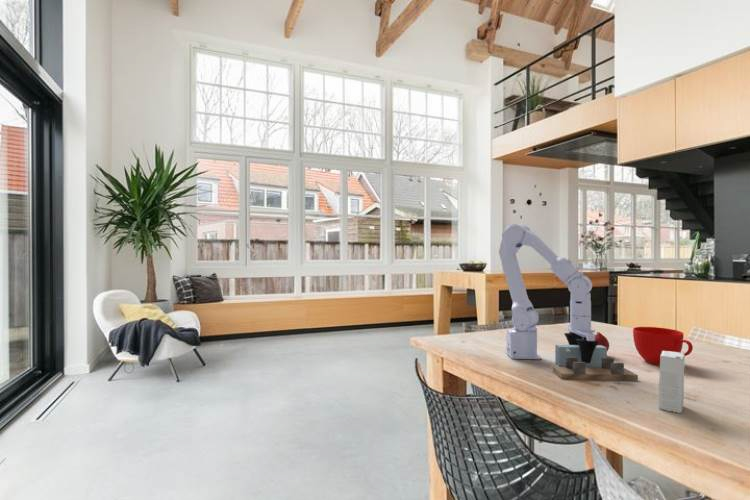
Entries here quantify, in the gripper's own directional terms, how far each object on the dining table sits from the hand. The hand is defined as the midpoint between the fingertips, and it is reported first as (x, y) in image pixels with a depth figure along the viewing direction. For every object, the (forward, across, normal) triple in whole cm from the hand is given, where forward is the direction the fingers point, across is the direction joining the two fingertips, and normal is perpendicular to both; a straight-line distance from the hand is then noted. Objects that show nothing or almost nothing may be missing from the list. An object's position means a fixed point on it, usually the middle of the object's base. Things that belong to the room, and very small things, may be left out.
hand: (580, 359), depth 123 cm
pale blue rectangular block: (+2, 0, 0) cm, 2 cm away
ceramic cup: (+2, +3, -26) cm, 26 cm away
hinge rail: (+2, -11, +1) cm, 11 cm away
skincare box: (+2, -33, -6) cm, 34 cm away
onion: (+2, +12, -11) cm, 16 cm away
